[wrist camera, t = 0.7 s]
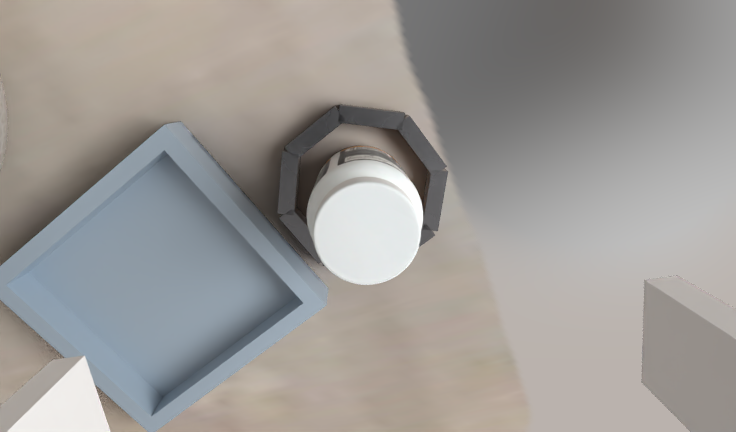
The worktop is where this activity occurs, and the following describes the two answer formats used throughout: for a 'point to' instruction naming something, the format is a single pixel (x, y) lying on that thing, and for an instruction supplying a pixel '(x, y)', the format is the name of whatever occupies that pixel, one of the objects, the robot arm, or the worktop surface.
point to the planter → (3, 123)
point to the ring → (367, 118)
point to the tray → (161, 279)
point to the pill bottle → (364, 216)
